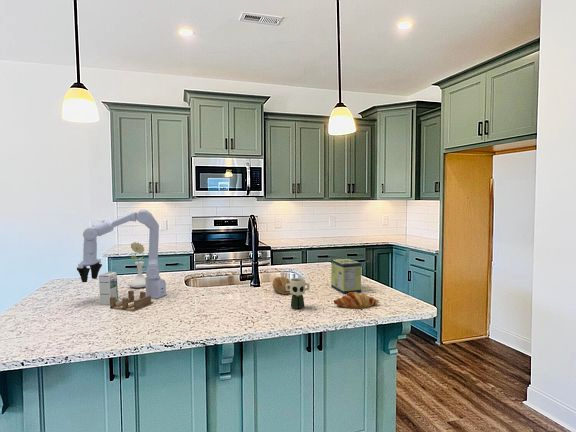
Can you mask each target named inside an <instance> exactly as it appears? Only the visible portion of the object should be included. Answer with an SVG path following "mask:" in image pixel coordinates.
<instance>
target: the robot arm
mask: <svg viewBox="0 0 576 432" xmlns="http://www.w3.org/2000/svg"><path fill="white" fill-rule="evenodd" d="M127 222H128V223H129V222H138V223H140V224H142V225H145V226H146V227H147V228H148V229H149V238H148V239H149V240H148V243H149V244H148V263H147V267H146V269H145V275H146V278H145V280H146V287H145V292H146V296H149V295H151V299H158V298H161V297H164V296H166V295H167V294H168V293H167V283H166V280H165V279H163V278H161V276H160V268H159V265H158V262H159V259H158V258H159V240H160V239H159V238H160V237H159V235H160V234H159V233H160V225H159V223H158V221H157V219H156V218H155V217H154V216H153V214H152V213H151V212H150V211H148V210H146V209H140V210H136V211H134V212H130V213H129V212H128V213H127V214H125V215H123V216H121V217H118V218H116V219H114V220H112V221H111V220H108V219H107V220H105V219H104V220H102V221H101V222H100V223H97V224H92V225H91V227H87V228H86V229H84V230H83V233H82V237H83V245H82V246H83V248H82V249H83V250H82V251H83V252H82V253H83V256H82V260H81V262H80V263H78V264H77V267H76V271H77V272H78V273H79V275H80V279H81V283H87V282H88V278H89V273H90V272H91V274H90V275H91V279H92V280H97V279H98V277H99V272H100V270H101V268H102V266H103V264H102V262H101V261H102V260H101V258H98V257H97V256H98V254H97V252H98V243H97V242H98V241H97V237H101V236H104V235H106V234H109V233H111V232H112V231H114V228H116V227H118V226H120V225H123V224H126V223H127Z"/></svg>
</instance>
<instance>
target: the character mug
mask: <svg viewBox="0 0 576 432" xmlns="http://www.w3.org/2000/svg"><path fill="white" fill-rule="evenodd" d="M289 281H290V284H286V291H290V293H289V294H291V300H290V307H291V308H292V309H295V310H296V309H297V310H298V309H303V308H305V299H304V298H305V297H304V294H305V293H306V291H309V290H310V283H309V282H306V279H305V278H303V277H292V278H290V279H289ZM288 286H290V289H288Z"/></svg>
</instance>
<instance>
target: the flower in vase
mask: <svg viewBox="0 0 576 432" xmlns="http://www.w3.org/2000/svg"><path fill="white" fill-rule="evenodd" d="M130 249H131V250H132V251H133V252H134V253H135V254H134V255H131V257H130V259H132V260H136V261H135V262H134V264H135V265H136V267H137V276H135V278H133V279H132V280H131V281H130V282H129V285H128V286H129V287H132V288H137V289H138V288H144V287H145V288H146V280H145V278H146V277H147V276H146V277H145V276H144V274H143V266H144V263H145V261H142V260H141V259H143V256H142V257H139V258H137V256H136V255H137V254H143V253H144V252H145V246H144V245H143V244H141V243H140V242H136V241H133V242H131V243H130ZM139 260H141V261H139Z"/></svg>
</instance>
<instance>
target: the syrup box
mask: <svg viewBox="0 0 576 432" xmlns="http://www.w3.org/2000/svg"><path fill="white" fill-rule="evenodd" d="M98 285H99V287H98V288H99V304H100V305H106V306H108V305H109V306H110V297H116V303H117V302H118V303H119V293H118V292H119V290H118V288H119V287H118V272H116V271H106V272H103V273H100V274H99V273H98Z"/></svg>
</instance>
